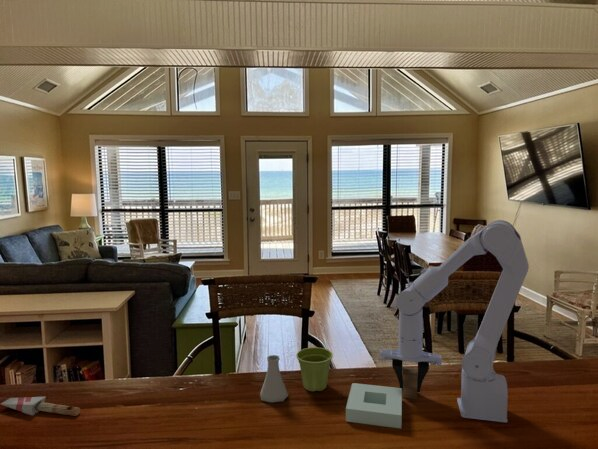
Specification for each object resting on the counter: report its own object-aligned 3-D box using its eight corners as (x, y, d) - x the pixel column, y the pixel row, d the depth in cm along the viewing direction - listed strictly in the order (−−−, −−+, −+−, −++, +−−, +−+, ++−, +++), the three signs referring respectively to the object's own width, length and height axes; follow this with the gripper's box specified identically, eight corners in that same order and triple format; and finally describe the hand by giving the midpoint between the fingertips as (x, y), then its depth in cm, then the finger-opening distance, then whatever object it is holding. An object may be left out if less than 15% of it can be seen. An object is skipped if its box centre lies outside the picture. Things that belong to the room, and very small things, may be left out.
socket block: (401, 400, 99) (401, 388, 98) (401, 428, 87) (401, 415, 87) (352, 394, 102) (352, 382, 101) (345, 421, 90) (345, 408, 90)
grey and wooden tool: (12, 391, 100) (83, 402, 96) (12, 401, 100) (83, 413, 96) (-3, 399, 96) (71, 411, 92) (-2, 410, 96) (71, 422, 92)
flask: (290, 389, 105) (289, 352, 104) (286, 404, 97) (285, 364, 97) (262, 388, 105) (261, 351, 104) (256, 403, 98) (255, 363, 97)
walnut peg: (416, 392, 102) (417, 369, 102) (417, 399, 99) (417, 375, 98) (402, 390, 103) (403, 368, 102) (402, 397, 100) (403, 374, 99)
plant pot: (319, 399, 99) (319, 365, 99) (289, 388, 105) (289, 356, 104) (339, 384, 107) (339, 352, 106) (310, 374, 112) (310, 344, 112)
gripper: (440, 333, 102) (439, 384, 103) (381, 328, 105) (381, 378, 107) (442, 343, 95) (441, 399, 96) (379, 338, 98) (379, 392, 100)
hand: (409, 389), depth 101 cm, fingers closed on walnut peg, 3 cm apart
